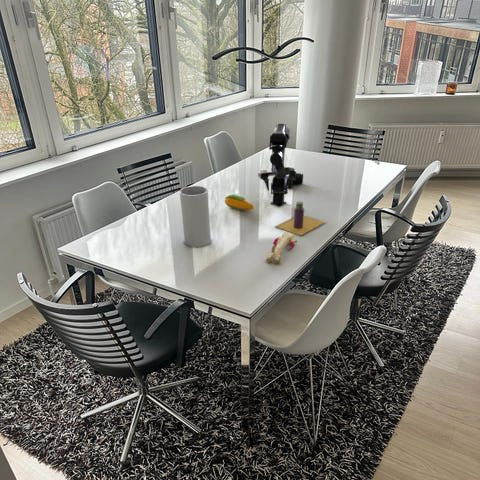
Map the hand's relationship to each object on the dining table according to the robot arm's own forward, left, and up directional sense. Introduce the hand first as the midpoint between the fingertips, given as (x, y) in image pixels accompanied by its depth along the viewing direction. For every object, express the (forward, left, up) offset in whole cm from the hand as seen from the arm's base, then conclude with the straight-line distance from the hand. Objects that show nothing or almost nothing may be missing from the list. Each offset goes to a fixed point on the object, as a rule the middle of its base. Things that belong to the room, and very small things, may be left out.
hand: (276, 189), depth 237 cm
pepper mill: (+7, +20, -13) cm, 25 cm away
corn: (+8, -19, -13) cm, 24 cm away
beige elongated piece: (+33, +30, -13) cm, 47 cm away
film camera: (-43, -21, -13) cm, 50 cm away
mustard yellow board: (+4, +19, -13) cm, 23 cm away
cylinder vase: (+51, -7, -13) cm, 53 cm away
